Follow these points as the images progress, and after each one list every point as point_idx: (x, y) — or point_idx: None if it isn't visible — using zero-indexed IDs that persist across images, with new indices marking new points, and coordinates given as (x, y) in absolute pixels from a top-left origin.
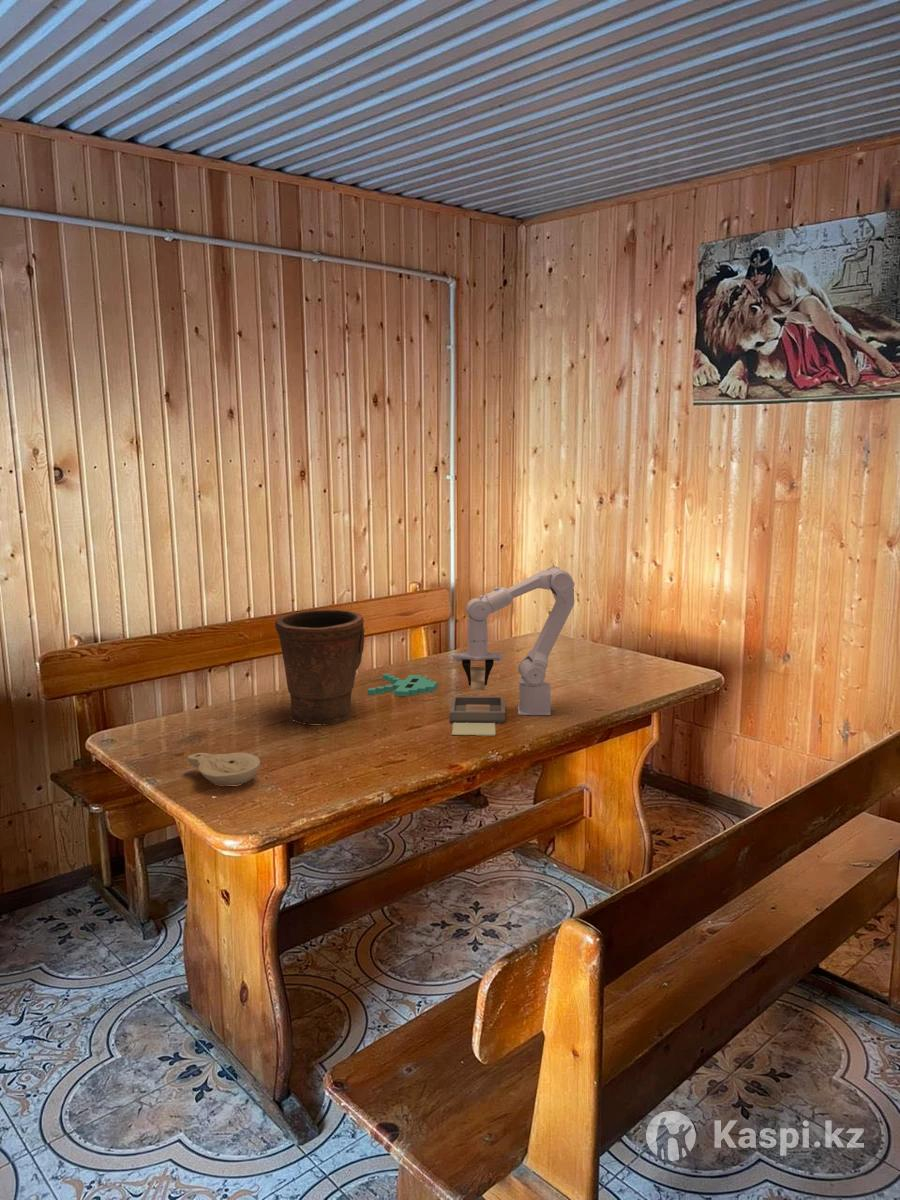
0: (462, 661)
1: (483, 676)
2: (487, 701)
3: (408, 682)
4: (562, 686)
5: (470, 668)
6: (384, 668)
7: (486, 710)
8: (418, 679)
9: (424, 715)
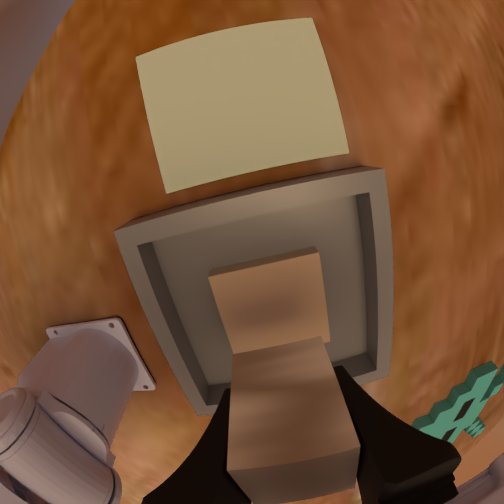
0: (450, 486)
1: (238, 426)
2: None
3: (460, 423)
4: (137, 480)
5: (359, 474)
6: (462, 454)
7: (227, 291)
8: None
9: (452, 239)
